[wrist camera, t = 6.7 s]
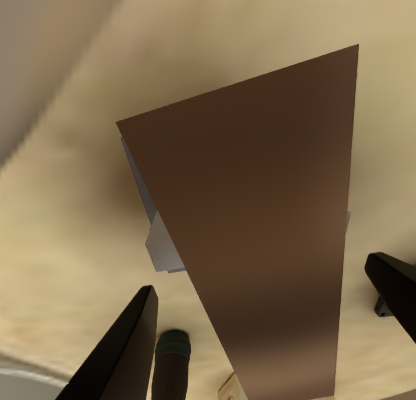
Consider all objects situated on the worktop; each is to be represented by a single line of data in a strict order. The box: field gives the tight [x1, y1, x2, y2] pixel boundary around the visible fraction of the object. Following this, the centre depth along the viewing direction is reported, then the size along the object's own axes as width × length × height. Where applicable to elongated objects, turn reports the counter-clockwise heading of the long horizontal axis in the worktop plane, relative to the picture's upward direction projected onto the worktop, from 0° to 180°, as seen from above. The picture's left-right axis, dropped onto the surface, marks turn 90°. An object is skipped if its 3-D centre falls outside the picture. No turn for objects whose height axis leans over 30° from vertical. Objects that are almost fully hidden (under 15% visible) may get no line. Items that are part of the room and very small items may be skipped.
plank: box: [116, 44, 359, 400], centre depth 8 cm, size 14×4×4 cm, turn 16°
